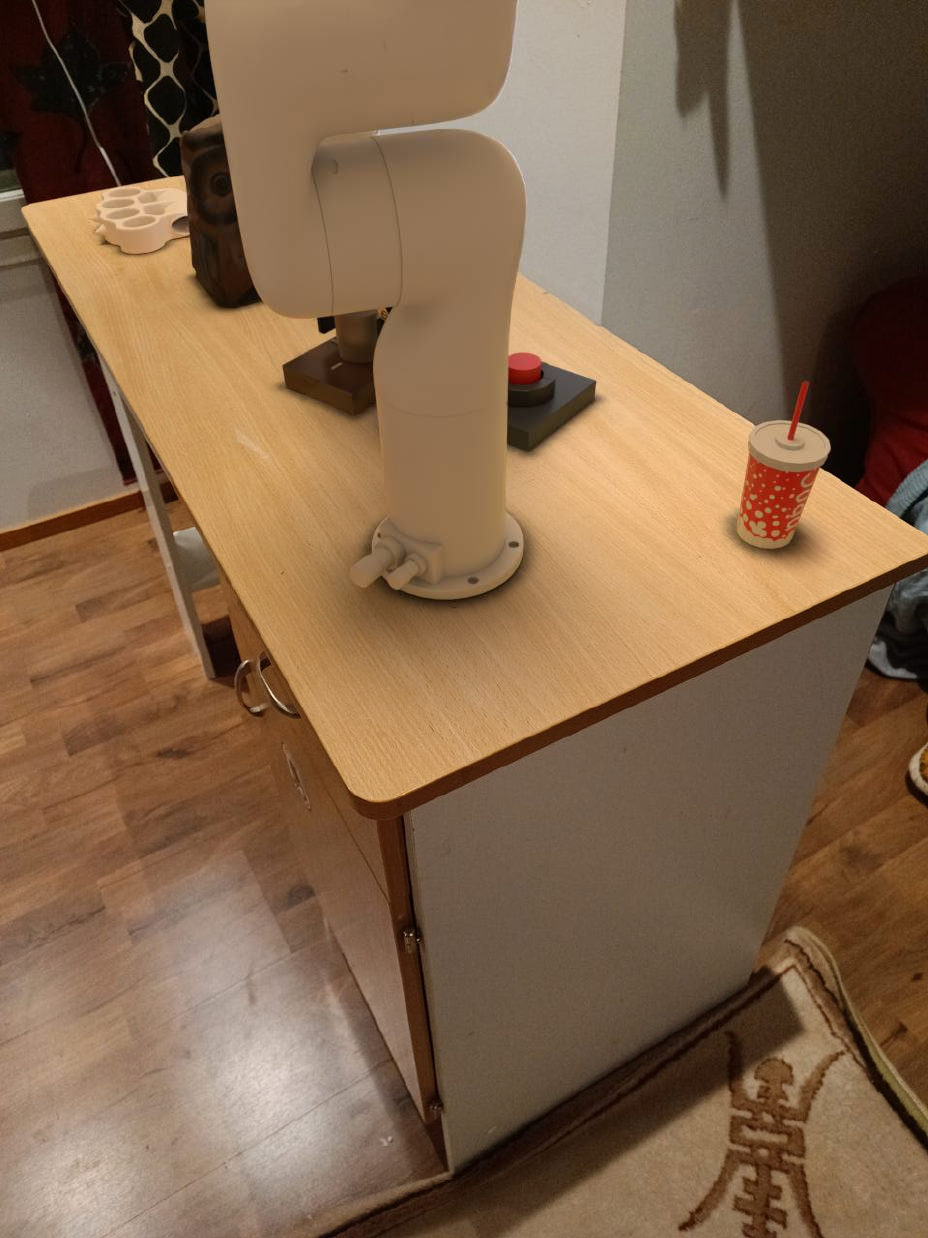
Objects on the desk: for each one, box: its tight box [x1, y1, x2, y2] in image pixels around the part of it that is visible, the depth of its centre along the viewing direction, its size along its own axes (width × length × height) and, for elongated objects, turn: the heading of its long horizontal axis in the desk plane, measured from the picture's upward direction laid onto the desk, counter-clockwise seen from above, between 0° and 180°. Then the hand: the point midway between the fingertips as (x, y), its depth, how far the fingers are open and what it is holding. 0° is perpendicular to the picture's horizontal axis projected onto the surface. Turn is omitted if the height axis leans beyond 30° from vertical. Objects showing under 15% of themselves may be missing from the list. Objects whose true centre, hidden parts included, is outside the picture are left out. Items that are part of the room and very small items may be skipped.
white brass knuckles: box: [88, 186, 190, 255], centre depth 125 cm, size 3×18×15 cm
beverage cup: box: [736, 380, 832, 550], centre depth 69 cm, size 6×6×14 cm
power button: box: [508, 351, 542, 385], centre depth 86 cm, size 4×4×2 cm
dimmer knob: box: [334, 309, 380, 363], centre depth 91 cm, size 5×5×5 cm
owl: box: [179, 113, 263, 309], centre depth 104 cm, size 13×13×20 cm
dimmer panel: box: [281, 335, 376, 416], centre depth 94 cm, size 14×10×3 cm
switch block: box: [507, 360, 597, 453], centre depth 88 cm, size 12×10×4 cm
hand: (360, 339), depth 92 cm, fingers open, 8 cm apart
